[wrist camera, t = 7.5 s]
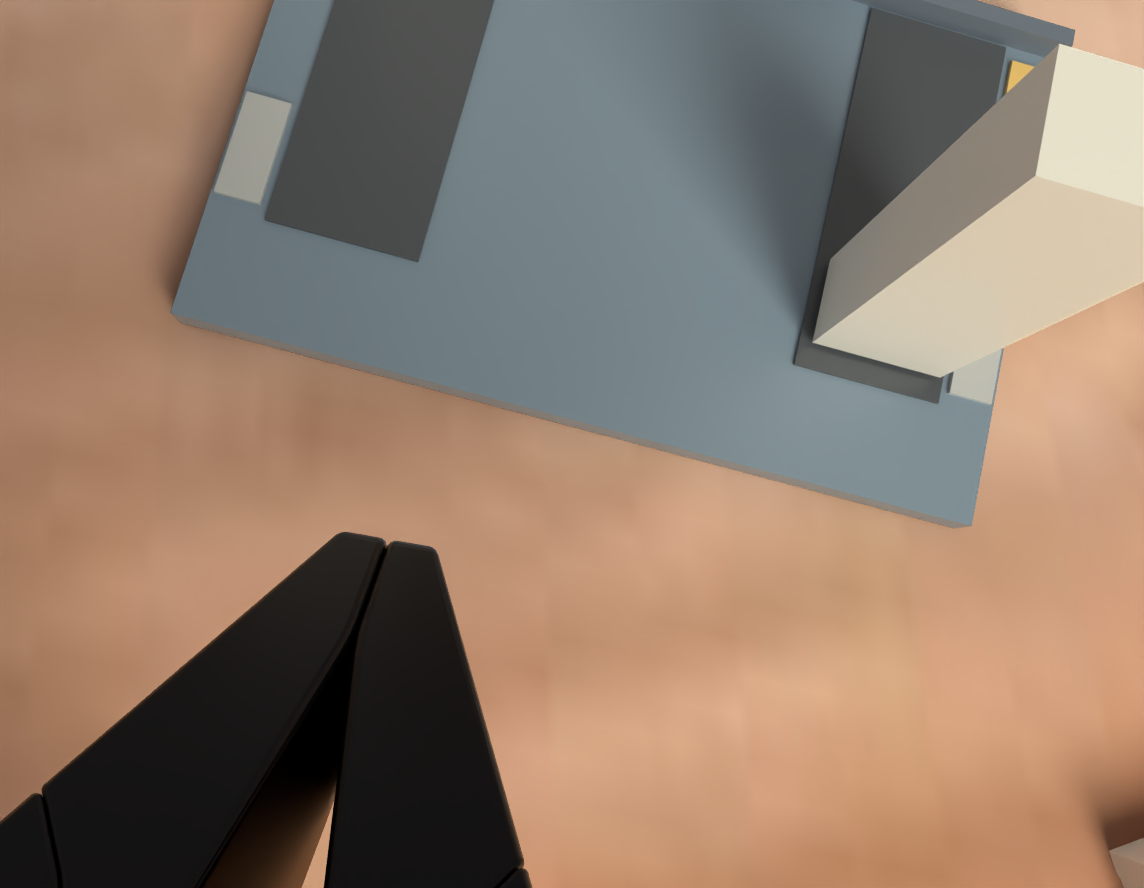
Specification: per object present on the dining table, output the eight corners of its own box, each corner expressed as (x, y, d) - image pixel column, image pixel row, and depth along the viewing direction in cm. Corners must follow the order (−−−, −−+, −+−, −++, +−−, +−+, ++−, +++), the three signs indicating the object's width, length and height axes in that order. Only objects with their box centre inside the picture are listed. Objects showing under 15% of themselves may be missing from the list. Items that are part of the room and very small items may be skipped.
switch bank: (954, 528, 23) (987, 523, 22) (180, 322, 22) (160, 303, 21) (1039, 63, 25) (1075, 29, 24) (335, -146, 24) (326, -194, 23)
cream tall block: (940, 377, 23) (1242, 235, 14) (811, 342, 22) (1035, 175, 14) (956, 294, 23) (1261, 103, 14) (830, 259, 23) (1059, 43, 14)
